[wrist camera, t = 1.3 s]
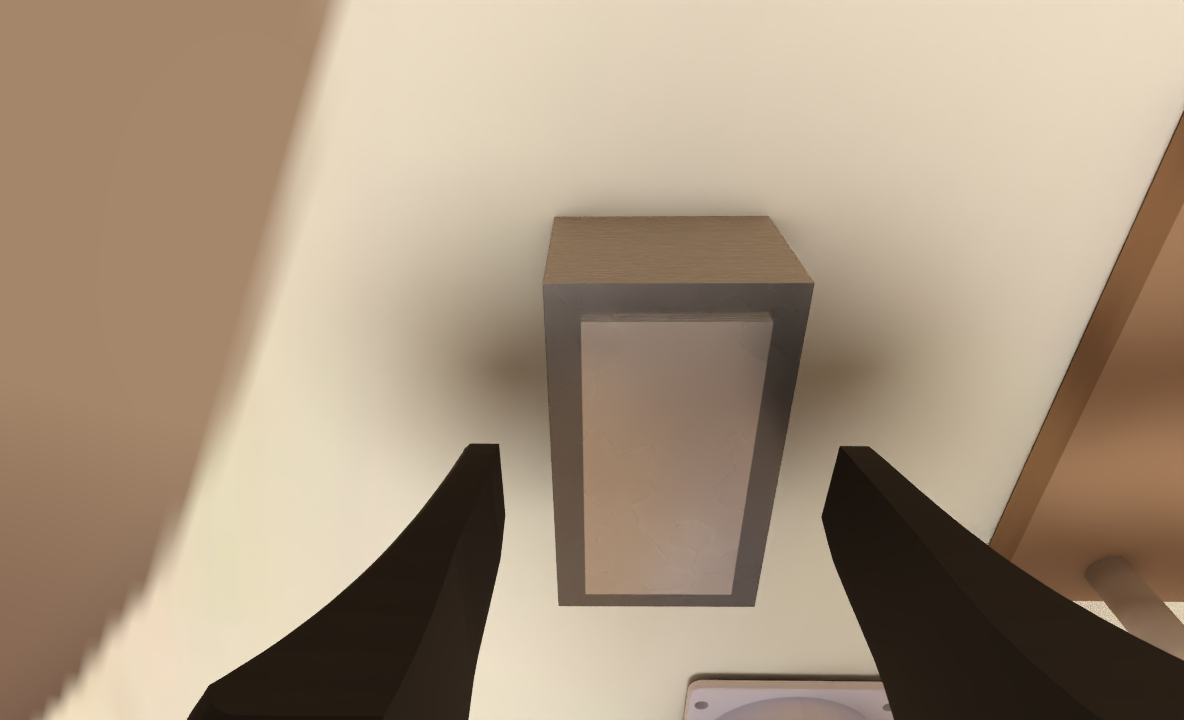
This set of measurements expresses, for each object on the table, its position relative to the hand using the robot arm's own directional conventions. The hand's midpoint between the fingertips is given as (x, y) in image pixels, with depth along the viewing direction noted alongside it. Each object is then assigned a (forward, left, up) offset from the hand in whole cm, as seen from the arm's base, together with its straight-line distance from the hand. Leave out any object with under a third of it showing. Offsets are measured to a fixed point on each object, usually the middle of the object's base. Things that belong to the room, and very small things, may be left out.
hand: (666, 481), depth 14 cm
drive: (0, 0, -4) cm, 4 cm away
